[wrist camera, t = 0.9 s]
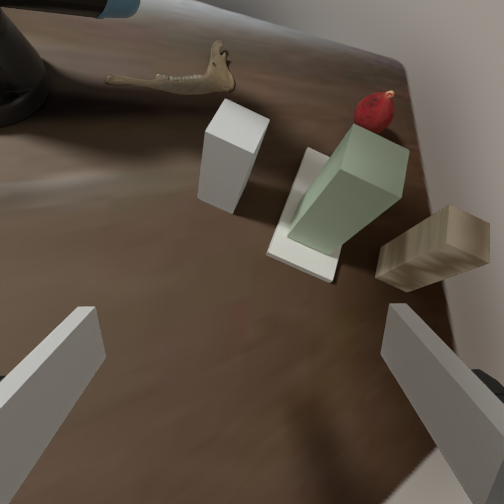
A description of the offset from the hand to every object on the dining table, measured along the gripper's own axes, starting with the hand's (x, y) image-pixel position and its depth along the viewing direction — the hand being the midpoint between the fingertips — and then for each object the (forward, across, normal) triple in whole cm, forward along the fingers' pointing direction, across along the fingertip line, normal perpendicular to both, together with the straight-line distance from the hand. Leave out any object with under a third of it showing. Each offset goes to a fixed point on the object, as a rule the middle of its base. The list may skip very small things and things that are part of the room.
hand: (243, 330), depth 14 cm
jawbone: (+43, -12, +18) cm, 48 cm away
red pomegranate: (+43, +19, +9) cm, 48 cm away
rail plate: (+30, +10, -1) cm, 32 cm away
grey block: (+29, -3, +2) cm, 29 cm away
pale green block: (+27, +9, -3) cm, 29 cm away
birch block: (+27, +20, -9) cm, 35 cm away
